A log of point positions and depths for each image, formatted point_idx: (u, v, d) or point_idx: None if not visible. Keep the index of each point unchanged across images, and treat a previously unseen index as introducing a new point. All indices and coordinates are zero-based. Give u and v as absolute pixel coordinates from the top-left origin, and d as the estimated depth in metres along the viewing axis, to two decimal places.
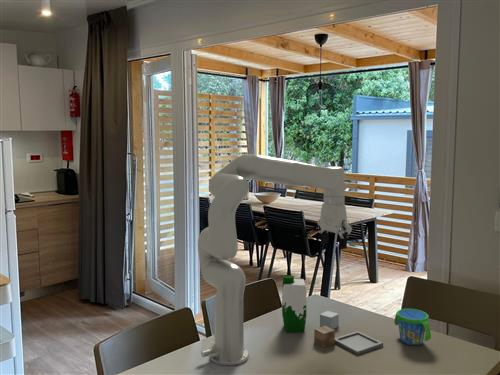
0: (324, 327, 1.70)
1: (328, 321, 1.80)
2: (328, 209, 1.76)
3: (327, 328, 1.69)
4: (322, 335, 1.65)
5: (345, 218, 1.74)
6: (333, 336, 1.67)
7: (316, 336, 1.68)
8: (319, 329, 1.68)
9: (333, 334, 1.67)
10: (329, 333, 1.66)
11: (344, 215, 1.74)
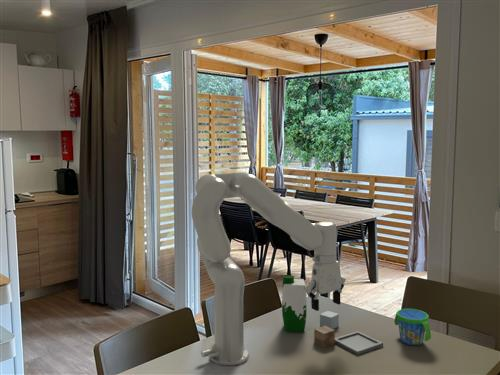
0: (324, 327, 1.70)
1: (328, 321, 1.80)
2: (331, 268, 1.63)
3: (327, 328, 1.69)
4: (322, 335, 1.65)
5: None
6: (333, 336, 1.67)
7: (316, 337, 1.68)
8: (319, 329, 1.68)
9: (333, 334, 1.67)
10: (328, 333, 1.66)
11: None
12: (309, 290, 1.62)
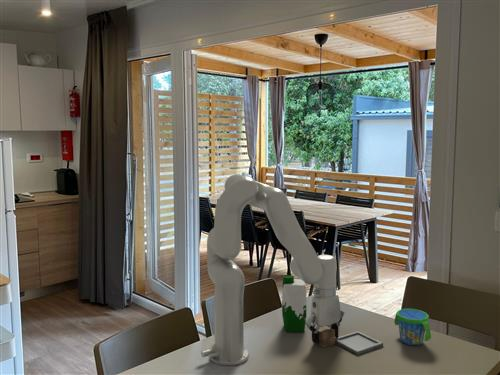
0: (324, 327, 1.70)
1: None
2: (330, 302, 1.65)
3: (327, 328, 1.69)
4: (322, 335, 1.65)
5: None
6: (333, 336, 1.67)
7: None
8: (319, 329, 1.68)
9: (333, 334, 1.67)
10: (329, 333, 1.66)
11: None
12: (309, 324, 1.63)
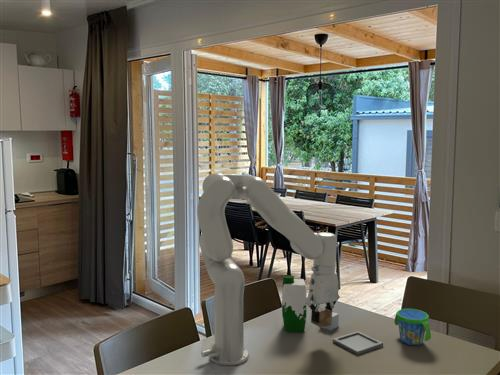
0: (321, 307, 1.69)
1: None
2: (329, 279, 1.64)
3: (325, 308, 1.68)
4: (319, 315, 1.64)
5: None
6: (330, 317, 1.66)
7: None
8: None
9: (330, 315, 1.66)
10: (326, 314, 1.65)
11: None
12: (309, 303, 1.63)
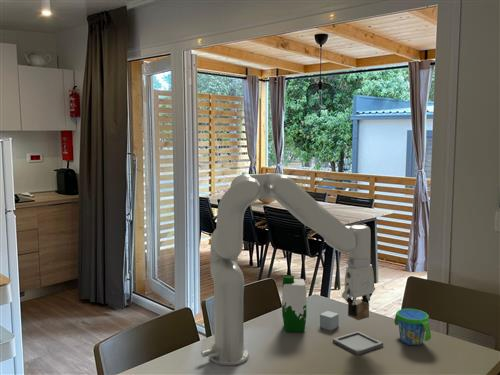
0: (358, 300, 1.68)
1: (328, 321, 1.80)
2: (364, 272, 1.62)
3: (361, 301, 1.67)
4: (357, 308, 1.63)
5: None
6: (367, 309, 1.65)
7: None
8: None
9: (367, 307, 1.65)
10: (363, 306, 1.64)
11: None
12: (346, 297, 1.62)
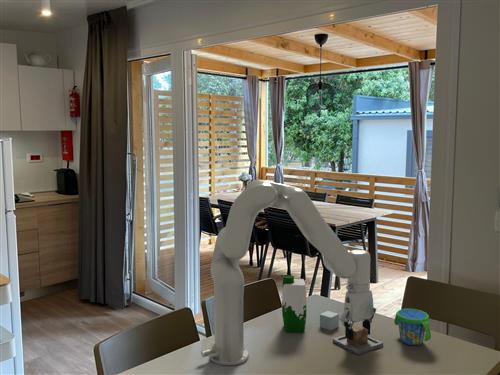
0: (356, 326, 1.69)
1: (328, 321, 1.80)
2: (364, 297, 1.63)
3: (360, 327, 1.68)
4: (355, 334, 1.64)
5: None
6: (366, 335, 1.66)
7: None
8: (352, 328, 1.67)
9: (366, 333, 1.66)
10: (362, 332, 1.65)
11: None
12: (343, 320, 1.62)
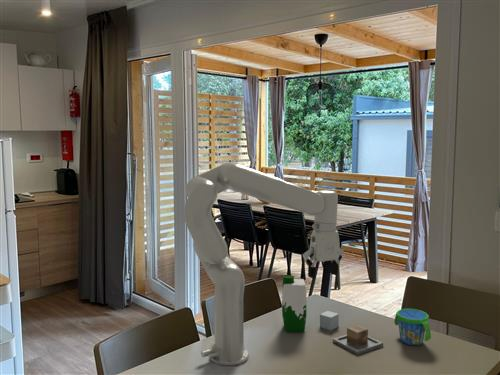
0: (356, 326, 1.69)
1: (328, 321, 1.80)
2: (330, 237, 1.63)
3: (360, 327, 1.68)
4: (355, 334, 1.64)
5: None
6: (366, 335, 1.66)
7: (349, 336, 1.67)
8: (352, 328, 1.67)
9: (366, 333, 1.66)
10: (362, 332, 1.65)
11: None
12: (307, 257, 1.61)
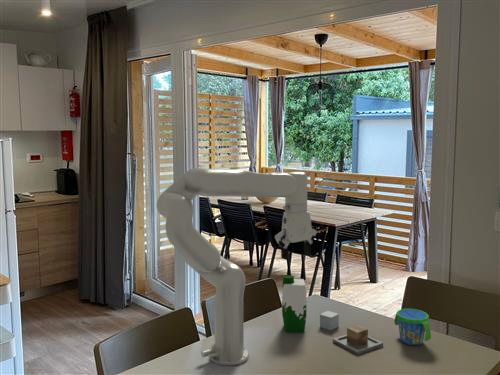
0: (356, 326, 1.69)
1: (328, 321, 1.80)
2: (301, 218, 1.63)
3: (360, 327, 1.68)
4: (355, 334, 1.64)
5: None
6: (366, 335, 1.66)
7: (349, 336, 1.67)
8: (352, 328, 1.67)
9: (366, 333, 1.66)
10: (362, 332, 1.65)
11: None
12: (279, 238, 1.62)
